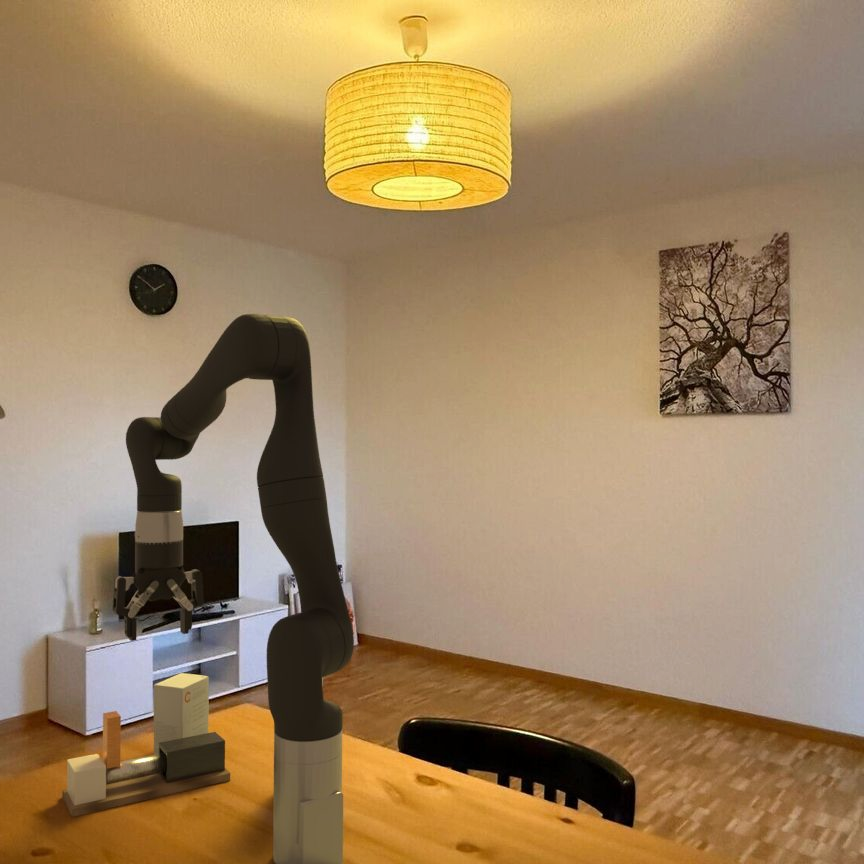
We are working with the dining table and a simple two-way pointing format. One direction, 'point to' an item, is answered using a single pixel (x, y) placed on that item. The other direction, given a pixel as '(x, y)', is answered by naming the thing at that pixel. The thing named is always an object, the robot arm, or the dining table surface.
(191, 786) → the walnut board
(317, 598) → the robot arm
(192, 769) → the dark hollow rectangular block
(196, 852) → the dining table surface
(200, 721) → the small box
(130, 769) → the sliding bolt
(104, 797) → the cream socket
